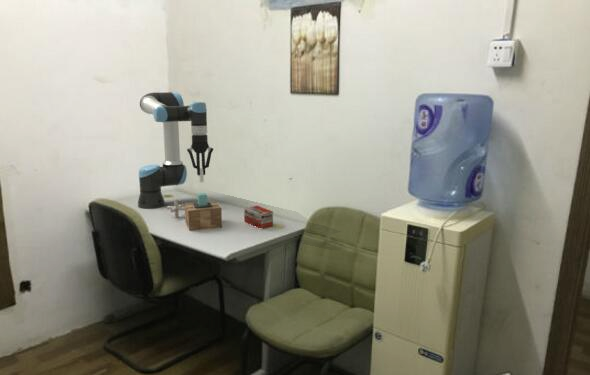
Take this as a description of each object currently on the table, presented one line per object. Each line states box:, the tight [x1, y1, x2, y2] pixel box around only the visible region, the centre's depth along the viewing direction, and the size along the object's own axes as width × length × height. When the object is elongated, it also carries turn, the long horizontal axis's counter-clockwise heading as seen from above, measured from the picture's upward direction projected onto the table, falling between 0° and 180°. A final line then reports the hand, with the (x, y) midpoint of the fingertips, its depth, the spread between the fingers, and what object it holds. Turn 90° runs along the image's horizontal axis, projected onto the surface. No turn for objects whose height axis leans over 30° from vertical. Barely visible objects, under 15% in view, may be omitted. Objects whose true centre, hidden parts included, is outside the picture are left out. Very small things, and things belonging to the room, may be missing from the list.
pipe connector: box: [166, 198, 185, 219], centre depth 241 cm, size 10×10×10 cm
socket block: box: [184, 200, 223, 231], centre depth 229 cm, size 14×16×10 cm
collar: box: [192, 201, 212, 209], centre depth 228 cm, size 8×8×1 cm
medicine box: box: [243, 205, 274, 229], centre depth 231 cm, size 15×8×8 cm, turn 39°
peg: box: [197, 192, 208, 206], centre depth 227 cm, size 4×4×8 cm
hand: (201, 181), depth 226 cm, fingers closed
